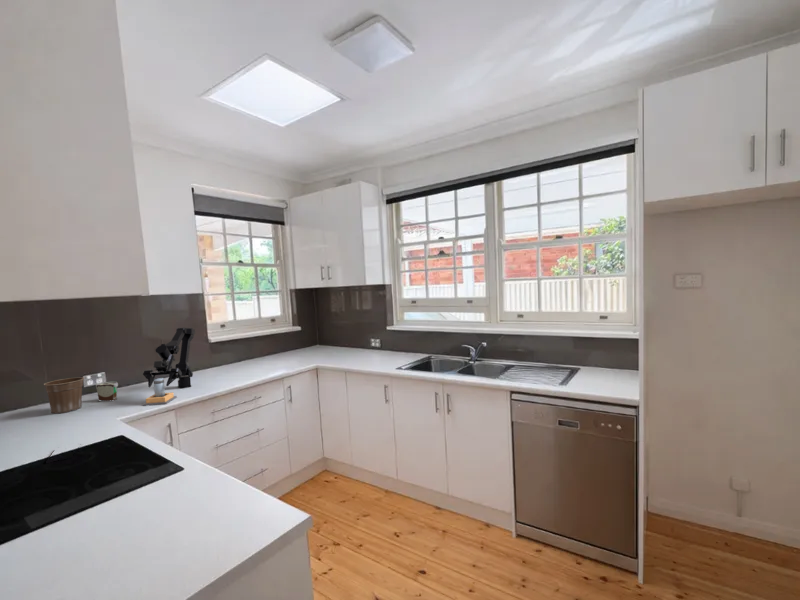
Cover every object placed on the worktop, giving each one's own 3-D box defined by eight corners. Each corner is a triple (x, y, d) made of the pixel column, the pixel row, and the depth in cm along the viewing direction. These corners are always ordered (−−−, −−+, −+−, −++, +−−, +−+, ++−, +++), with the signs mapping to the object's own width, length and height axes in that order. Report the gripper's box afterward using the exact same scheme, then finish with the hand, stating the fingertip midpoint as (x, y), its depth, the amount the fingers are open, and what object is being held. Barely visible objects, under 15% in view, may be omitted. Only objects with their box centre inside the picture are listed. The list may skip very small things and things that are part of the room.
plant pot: (52, 408, 203) (50, 379, 203) (90, 403, 210) (87, 375, 210) (40, 417, 189) (38, 386, 188) (81, 411, 196) (78, 381, 195)
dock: (154, 399, 213) (154, 393, 213) (176, 397, 214) (176, 391, 214) (142, 405, 201) (142, 399, 201) (166, 404, 202) (166, 397, 202)
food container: (124, 397, 219) (123, 381, 219) (115, 400, 213) (114, 383, 213) (105, 397, 221) (104, 381, 220) (96, 401, 215) (95, 384, 214)
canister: (161, 398, 211) (159, 377, 210) (167, 398, 209) (165, 377, 209) (152, 401, 206) (151, 379, 206) (159, 401, 204) (157, 380, 204)
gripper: (143, 356, 209) (133, 380, 199) (178, 354, 212) (170, 377, 201) (151, 367, 217) (142, 390, 207) (185, 364, 220) (177, 387, 209)
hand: (158, 386), depth 206 cm, fingers open, 9 cm apart
